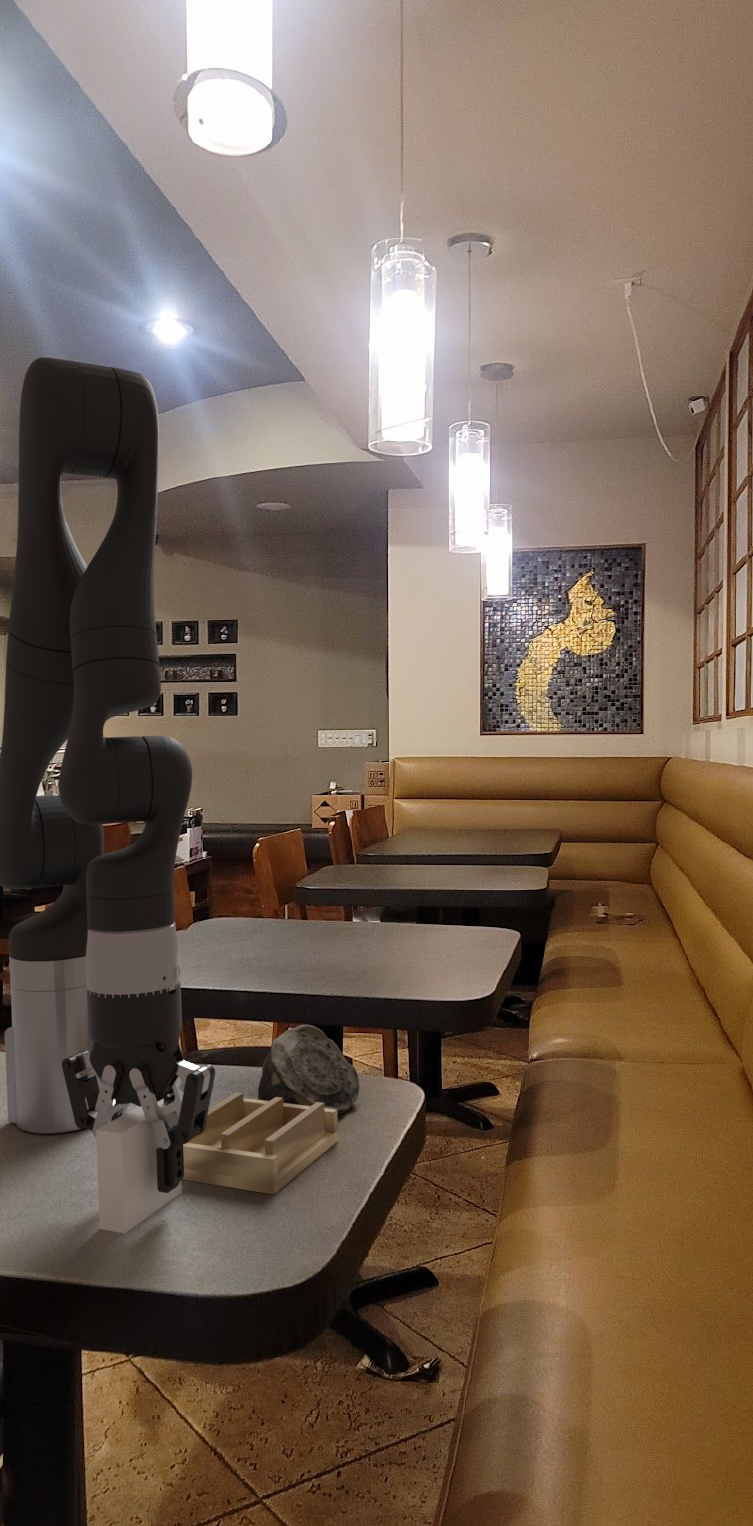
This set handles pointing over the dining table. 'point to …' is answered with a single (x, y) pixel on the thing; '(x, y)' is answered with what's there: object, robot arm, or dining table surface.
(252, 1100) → the rack
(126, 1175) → the upright cream slab
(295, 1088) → the fossil
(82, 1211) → the dining table surface
